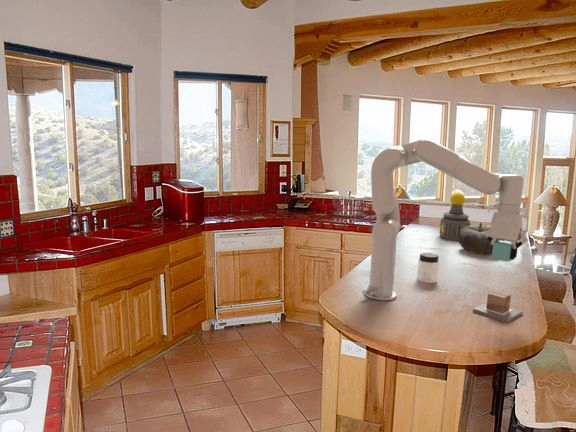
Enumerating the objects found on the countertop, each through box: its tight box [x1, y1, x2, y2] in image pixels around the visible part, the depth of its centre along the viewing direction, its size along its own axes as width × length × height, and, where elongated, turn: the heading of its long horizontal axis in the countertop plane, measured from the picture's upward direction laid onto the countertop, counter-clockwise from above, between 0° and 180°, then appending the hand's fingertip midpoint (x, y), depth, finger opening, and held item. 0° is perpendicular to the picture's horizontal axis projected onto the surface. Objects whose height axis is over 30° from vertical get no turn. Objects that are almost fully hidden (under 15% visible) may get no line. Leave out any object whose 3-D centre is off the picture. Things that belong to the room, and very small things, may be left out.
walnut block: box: [486, 290, 512, 313], centre depth 180 cm, size 6×6×6 cm
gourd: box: [458, 222, 505, 256], centre depth 278 cm, size 25×25×17 cm
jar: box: [416, 252, 440, 284], centre depth 218 cm, size 9×8×12 cm
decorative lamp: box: [439, 192, 471, 241], centre depth 315 cm, size 19×19×30 cm
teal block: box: [491, 240, 515, 263], centre depth 177 cm, size 6×6×6 cm
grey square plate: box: [472, 302, 524, 323], centre depth 180 cm, size 13×13×1 cm
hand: (503, 256), depth 177 cm, fingers closed on teal block, 6 cm apart
